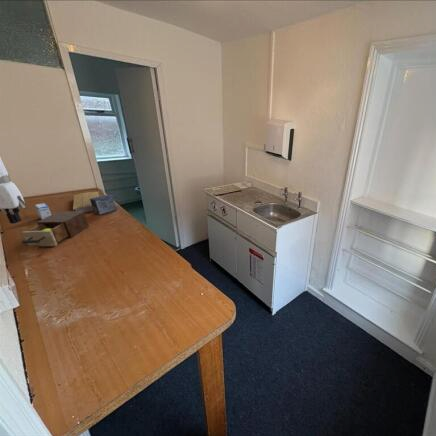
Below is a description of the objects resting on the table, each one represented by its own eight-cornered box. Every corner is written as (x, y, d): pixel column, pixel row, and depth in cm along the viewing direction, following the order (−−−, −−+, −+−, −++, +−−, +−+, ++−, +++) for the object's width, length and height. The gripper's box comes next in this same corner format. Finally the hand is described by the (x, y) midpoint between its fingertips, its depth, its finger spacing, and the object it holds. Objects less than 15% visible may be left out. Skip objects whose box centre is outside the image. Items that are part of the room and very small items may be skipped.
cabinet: (71, 238, 122) (65, 221, 118) (43, 239, 120) (36, 222, 116) (89, 226, 135) (84, 210, 131) (64, 226, 133) (58, 211, 129)
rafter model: (102, 209, 158) (100, 201, 155) (74, 214, 149) (71, 205, 147) (99, 196, 182) (97, 188, 180) (75, 199, 173) (72, 191, 171)
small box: (111, 208, 160) (107, 194, 156) (117, 210, 158) (113, 195, 154) (93, 213, 152) (89, 198, 147) (99, 215, 149) (94, 200, 145)
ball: (41, 242, 112) (37, 232, 110) (42, 238, 116) (38, 228, 114) (57, 239, 116) (53, 229, 114) (58, 235, 120) (54, 225, 118)
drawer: (48, 250, 108) (41, 236, 105) (19, 252, 106) (12, 237, 103) (74, 233, 125) (70, 220, 122) (50, 233, 123) (44, 220, 120)
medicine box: (39, 218, 142) (34, 204, 138) (49, 215, 145) (44, 202, 142) (43, 221, 138) (37, 207, 134) (53, 219, 141) (48, 205, 138)
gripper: (-38, 182, 88) (-14, 226, 95) (9, 182, 90) (29, 225, 97) (-17, 178, 94) (3, 219, 102) (26, 178, 97) (43, 218, 104)
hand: (16, 222), depth 99 cm, fingers closed
